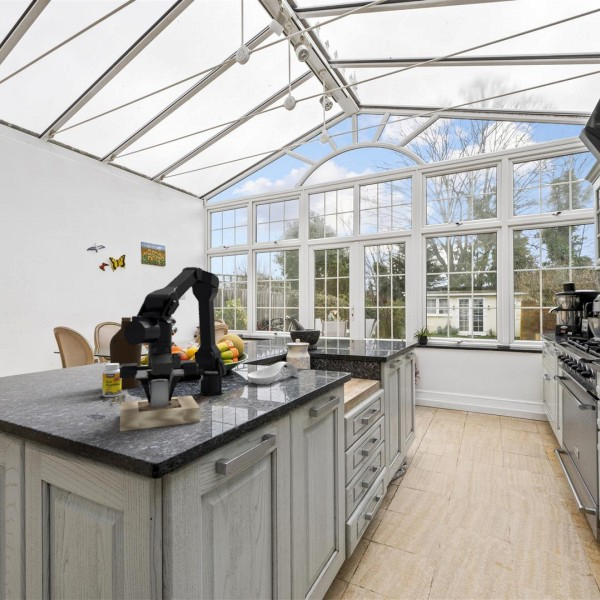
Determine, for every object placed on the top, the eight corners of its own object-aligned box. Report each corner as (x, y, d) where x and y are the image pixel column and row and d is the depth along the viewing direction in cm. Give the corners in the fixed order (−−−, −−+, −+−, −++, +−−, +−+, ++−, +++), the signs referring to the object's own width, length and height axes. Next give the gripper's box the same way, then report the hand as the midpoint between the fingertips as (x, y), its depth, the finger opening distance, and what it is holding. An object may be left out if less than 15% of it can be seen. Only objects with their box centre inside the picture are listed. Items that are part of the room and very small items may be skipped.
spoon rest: (262, 388, 133) (262, 368, 133) (240, 384, 141) (240, 365, 141) (304, 379, 151) (304, 361, 151) (283, 375, 159) (283, 359, 159)
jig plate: (190, 407, 106) (191, 395, 106) (199, 421, 93) (199, 407, 93) (120, 415, 98) (121, 402, 99) (120, 431, 86) (120, 416, 86)
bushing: (167, 408, 99) (168, 378, 99) (169, 413, 95) (169, 381, 95) (149, 410, 97) (149, 379, 97) (150, 415, 93) (150, 382, 93)
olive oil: (137, 389, 130) (137, 317, 130) (104, 390, 128) (105, 317, 129) (144, 383, 140) (145, 317, 141) (114, 384, 139) (115, 317, 139)
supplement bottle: (103, 398, 117) (103, 365, 117) (101, 394, 122) (101, 363, 122) (122, 396, 120) (123, 364, 120) (120, 392, 125) (120, 362, 125)
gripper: (119, 345, 85) (118, 414, 85) (202, 342, 93) (201, 405, 93) (120, 341, 95) (119, 403, 95) (195, 339, 103) (194, 396, 103)
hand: (159, 402), depth 96 cm, fingers closed on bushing, 4 cm apart
